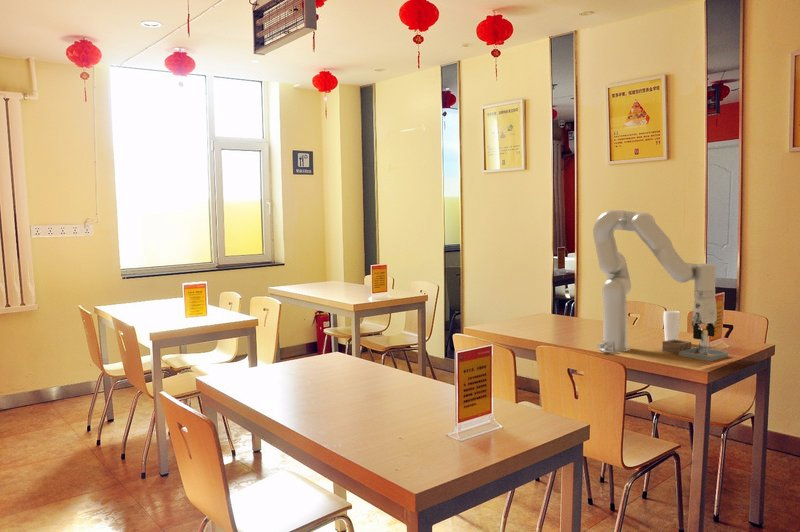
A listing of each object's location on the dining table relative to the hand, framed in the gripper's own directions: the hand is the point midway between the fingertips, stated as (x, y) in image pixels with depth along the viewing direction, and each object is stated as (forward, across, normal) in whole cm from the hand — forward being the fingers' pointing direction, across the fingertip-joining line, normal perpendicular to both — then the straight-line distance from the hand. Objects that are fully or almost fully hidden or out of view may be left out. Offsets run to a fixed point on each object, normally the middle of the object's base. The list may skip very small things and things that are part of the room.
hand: (703, 337), depth 256 cm
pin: (+8, 0, 0) cm, 8 cm away
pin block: (+8, 0, +12) cm, 14 cm away
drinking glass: (+9, +14, +22) cm, 28 cm away
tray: (+8, 0, 0) cm, 8 cm away
